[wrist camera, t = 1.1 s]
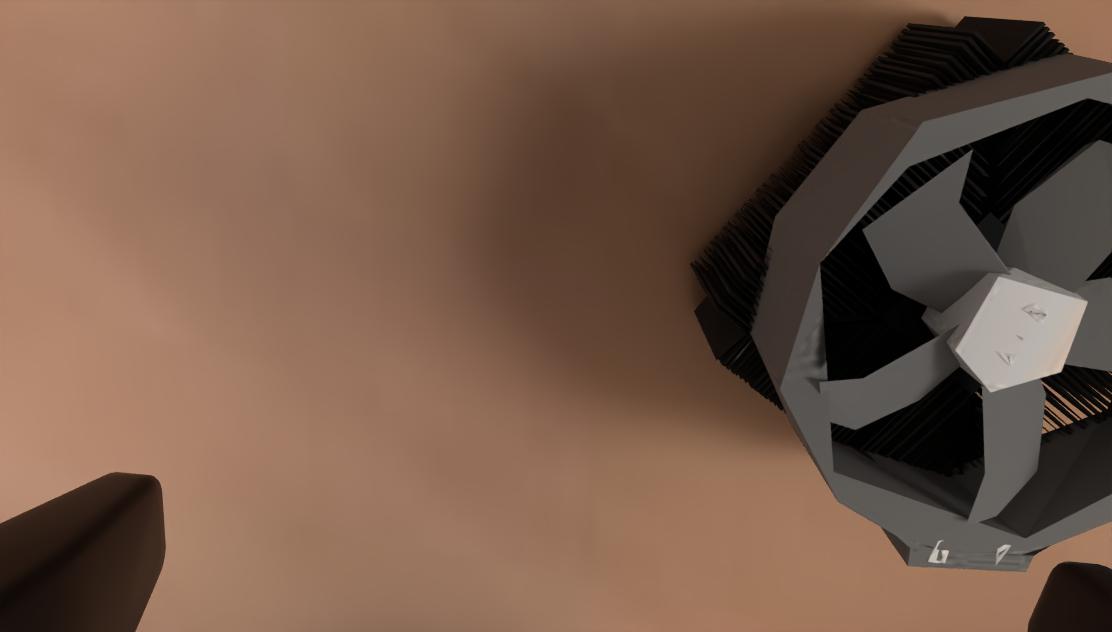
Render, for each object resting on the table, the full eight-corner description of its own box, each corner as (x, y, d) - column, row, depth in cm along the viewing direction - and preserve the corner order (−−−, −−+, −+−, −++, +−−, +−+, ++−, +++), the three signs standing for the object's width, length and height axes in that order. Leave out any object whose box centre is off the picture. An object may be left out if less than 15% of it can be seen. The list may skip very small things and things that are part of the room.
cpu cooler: (1109, -66, 13) (1433, 308, 15) (940, -50, 18) (1201, 225, 21) (669, 394, 16) (1003, 643, 18) (635, 291, 21) (898, 495, 23)
